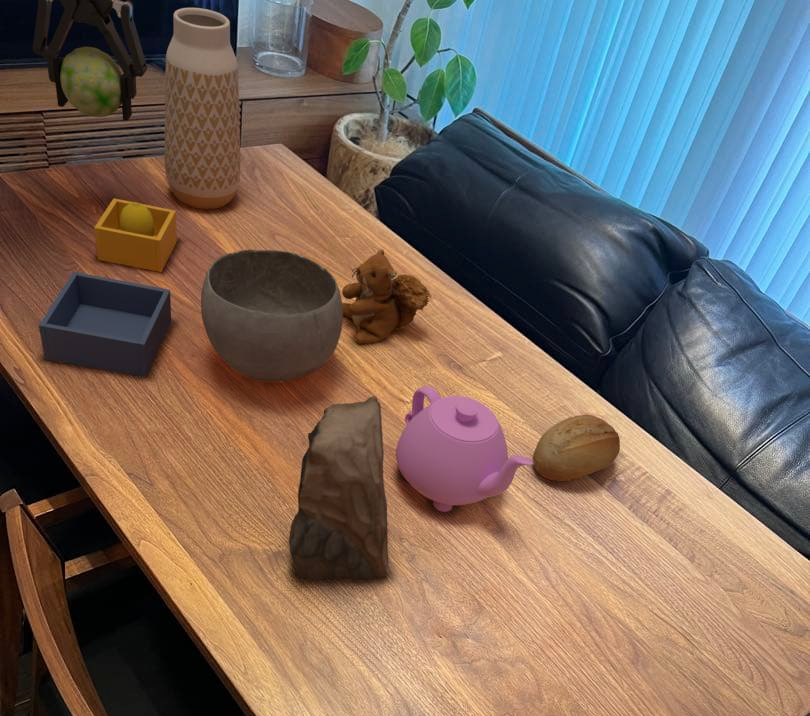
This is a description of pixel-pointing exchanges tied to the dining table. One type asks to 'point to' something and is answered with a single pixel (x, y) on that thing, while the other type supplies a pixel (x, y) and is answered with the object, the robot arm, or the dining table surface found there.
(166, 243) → the yellow bin
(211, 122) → the vase
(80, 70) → the decorative ball
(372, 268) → the stuffed squirrel
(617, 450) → the bread roll
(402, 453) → the teapot
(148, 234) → the lemon
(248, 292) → the bowl
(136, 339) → the blue bin
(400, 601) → the dining table surface
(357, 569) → the jagged boulder chunk
